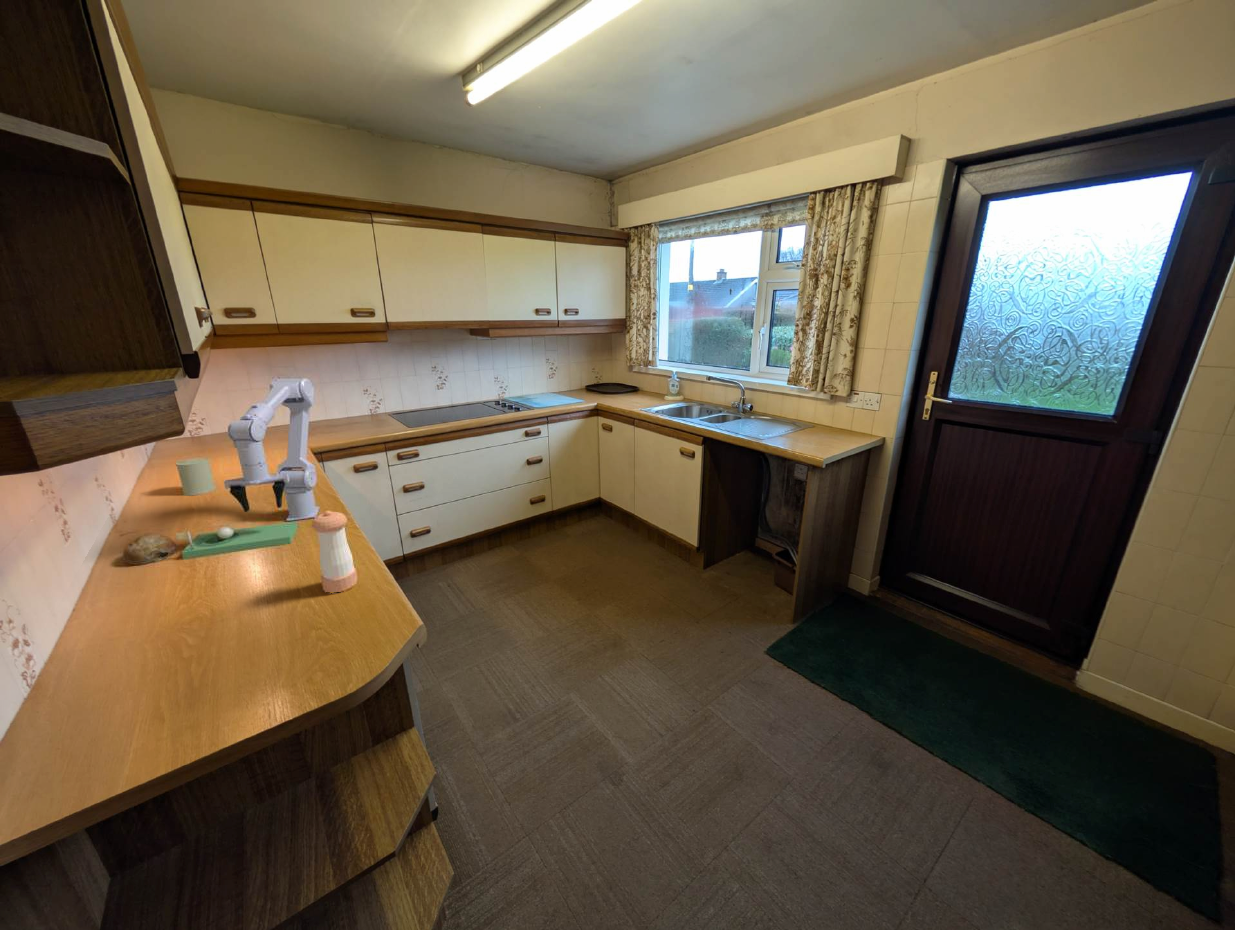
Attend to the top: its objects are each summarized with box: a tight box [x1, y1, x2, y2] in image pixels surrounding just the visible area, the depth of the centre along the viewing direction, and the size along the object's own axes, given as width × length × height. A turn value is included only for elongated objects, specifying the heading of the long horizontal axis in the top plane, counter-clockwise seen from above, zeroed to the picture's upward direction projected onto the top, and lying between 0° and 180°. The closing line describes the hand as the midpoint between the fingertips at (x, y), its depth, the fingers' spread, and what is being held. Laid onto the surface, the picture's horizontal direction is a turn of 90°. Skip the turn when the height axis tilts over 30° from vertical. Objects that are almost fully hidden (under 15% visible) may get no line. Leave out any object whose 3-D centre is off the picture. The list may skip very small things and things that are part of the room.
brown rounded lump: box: [122, 533, 177, 566], centre depth 126 cm, size 10×10×8 cm
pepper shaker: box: [311, 510, 358, 593], centre depth 112 cm, size 7×7×19 cm
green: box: [175, 520, 299, 560], centre depth 135 cm, size 12×24×7 cm, turn 114°
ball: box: [216, 525, 235, 539], centre depth 133 cm, size 4×4×4 cm
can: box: [175, 457, 217, 496], centre depth 173 cm, size 9×9×12 cm
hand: (263, 508), depth 135 cm, fingers open, 7 cm apart
